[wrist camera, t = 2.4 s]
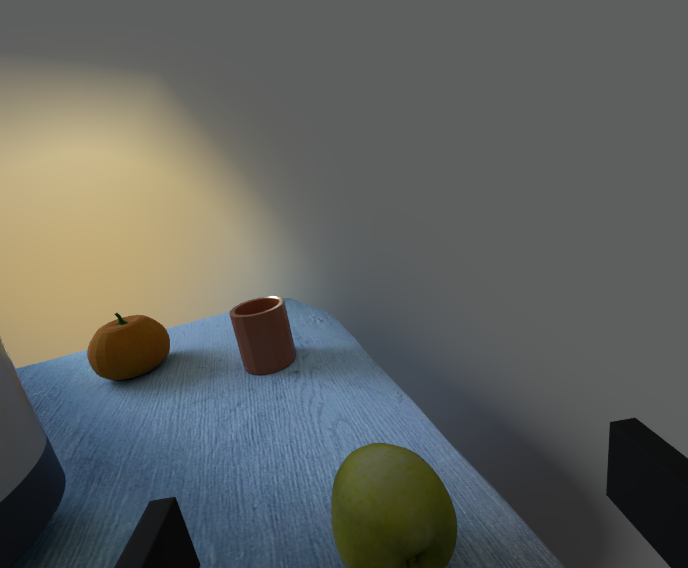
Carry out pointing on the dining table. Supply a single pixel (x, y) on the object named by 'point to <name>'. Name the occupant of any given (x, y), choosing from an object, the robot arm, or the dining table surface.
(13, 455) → the planter
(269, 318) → the cup
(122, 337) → the fruit
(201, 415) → the dining table surface
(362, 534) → the apple
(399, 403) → the dining table surface
